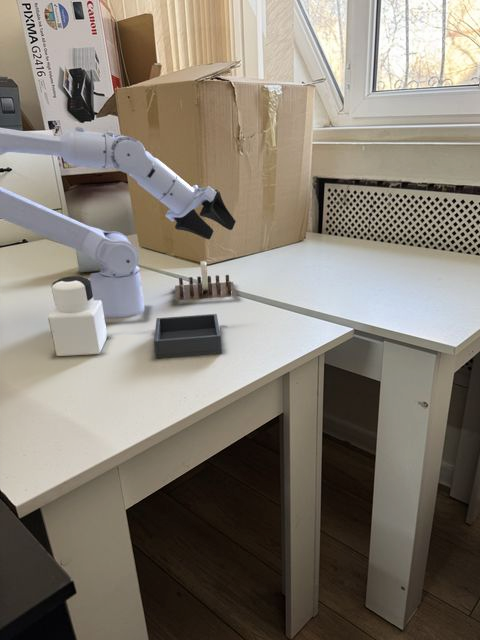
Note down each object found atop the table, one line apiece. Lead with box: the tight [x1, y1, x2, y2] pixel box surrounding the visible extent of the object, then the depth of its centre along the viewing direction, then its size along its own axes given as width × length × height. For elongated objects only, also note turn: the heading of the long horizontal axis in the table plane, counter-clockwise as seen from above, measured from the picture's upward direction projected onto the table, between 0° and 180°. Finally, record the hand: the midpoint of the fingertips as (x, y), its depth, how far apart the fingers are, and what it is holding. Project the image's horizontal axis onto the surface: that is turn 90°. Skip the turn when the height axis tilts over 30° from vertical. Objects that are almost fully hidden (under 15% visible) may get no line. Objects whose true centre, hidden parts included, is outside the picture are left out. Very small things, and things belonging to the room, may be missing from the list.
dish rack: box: [174, 274, 238, 301], centre depth 110 cm, size 13×10×3 cm
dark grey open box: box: [153, 313, 223, 359], centre depth 87 cm, size 11×10×3 cm
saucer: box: [199, 260, 208, 291], centre depth 108 cm, size 1×6×6 cm, turn 9°
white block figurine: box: [47, 275, 108, 357], centre depth 84 cm, size 7×7×12 cm
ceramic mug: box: [75, 249, 103, 273], centre depth 128 cm, size 10×8×8 cm
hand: (221, 230), depth 101 cm, fingers open, 7 cm apart
